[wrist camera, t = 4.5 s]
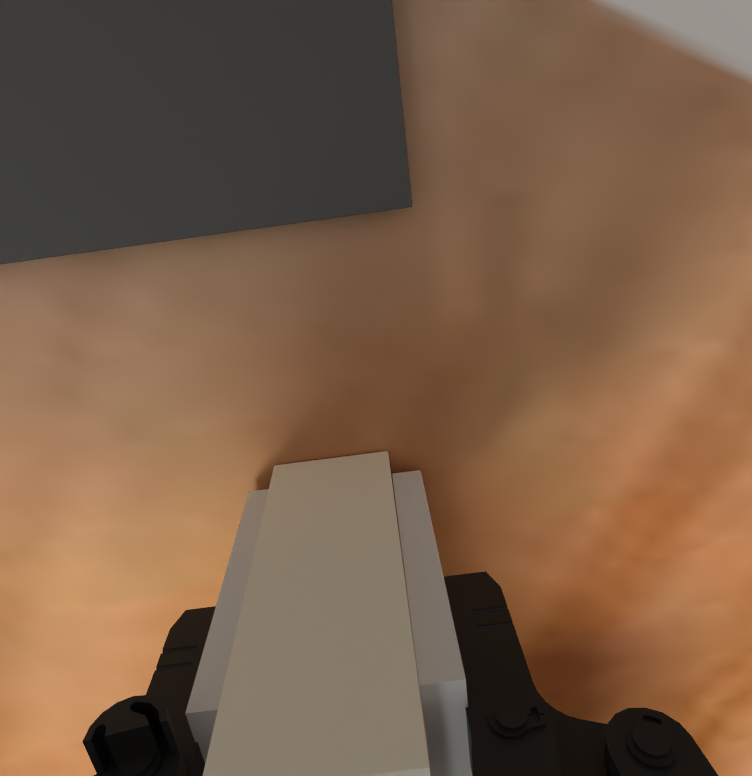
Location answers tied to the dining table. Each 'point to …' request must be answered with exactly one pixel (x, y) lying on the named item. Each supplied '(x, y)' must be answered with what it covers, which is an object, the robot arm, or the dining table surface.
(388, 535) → the cream upright slab
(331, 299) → the dining table surface
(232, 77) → the mat
